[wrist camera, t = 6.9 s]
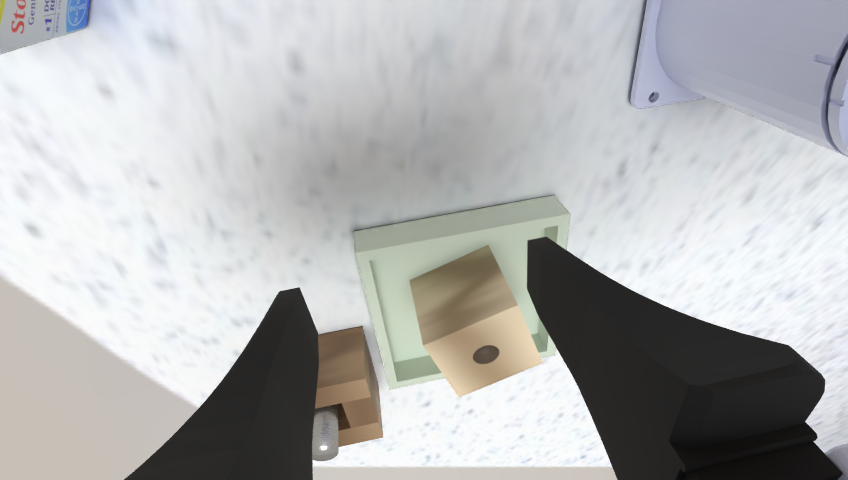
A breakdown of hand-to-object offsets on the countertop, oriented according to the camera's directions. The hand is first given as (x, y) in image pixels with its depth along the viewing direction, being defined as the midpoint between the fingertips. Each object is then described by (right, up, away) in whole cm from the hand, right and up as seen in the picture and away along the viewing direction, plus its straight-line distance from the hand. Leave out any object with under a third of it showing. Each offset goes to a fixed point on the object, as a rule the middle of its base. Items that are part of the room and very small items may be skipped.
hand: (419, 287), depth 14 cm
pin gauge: (-6, -7, +15) cm, 18 cm away
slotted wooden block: (-6, -7, +15) cm, 18 cm away
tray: (+2, -2, +13) cm, 13 cm away
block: (+3, -2, +13) cm, 13 cm away
